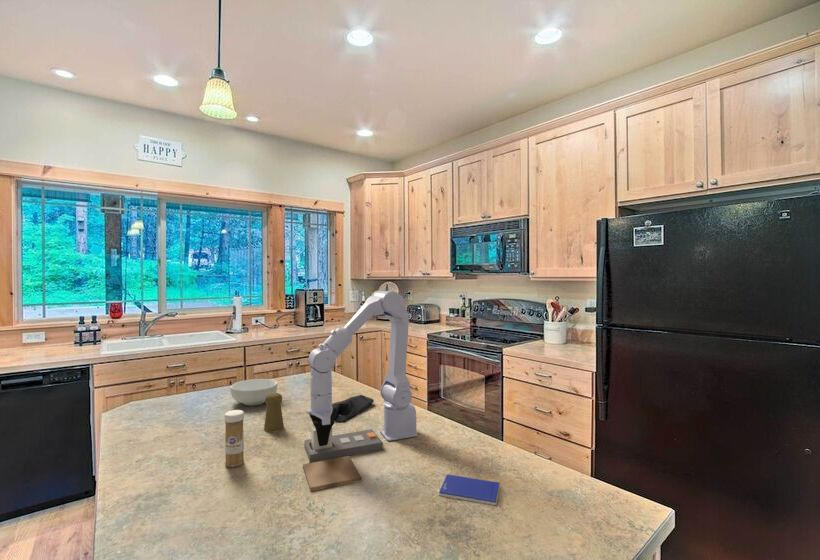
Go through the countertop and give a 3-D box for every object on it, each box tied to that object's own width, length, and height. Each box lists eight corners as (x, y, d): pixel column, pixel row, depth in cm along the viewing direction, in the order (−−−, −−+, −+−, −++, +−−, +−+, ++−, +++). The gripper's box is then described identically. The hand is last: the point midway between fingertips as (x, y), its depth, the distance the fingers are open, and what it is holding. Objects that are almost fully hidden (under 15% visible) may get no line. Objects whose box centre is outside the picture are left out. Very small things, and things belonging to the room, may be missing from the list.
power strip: (372, 435, 121) (372, 427, 121) (382, 449, 112) (382, 440, 112) (304, 447, 113) (304, 438, 113) (309, 462, 104) (309, 452, 104)
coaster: (349, 458, 106) (349, 455, 106) (361, 480, 95) (361, 477, 95) (303, 467, 102) (302, 464, 102) (310, 491, 91) (310, 487, 91)
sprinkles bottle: (225, 469, 101) (224, 416, 101) (225, 461, 105) (224, 410, 105) (244, 465, 103) (244, 413, 102) (244, 458, 107) (243, 408, 107)
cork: (277, 432, 124) (277, 397, 124) (260, 431, 125) (259, 396, 125) (287, 425, 130) (287, 391, 130) (270, 424, 131) (270, 390, 131)
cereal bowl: (268, 409, 145) (268, 390, 144) (222, 409, 145) (222, 390, 145) (283, 395, 162) (283, 378, 161) (242, 395, 162) (242, 378, 162)
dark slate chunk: (380, 406, 149) (380, 394, 149) (339, 425, 131) (339, 411, 131) (349, 399, 157) (349, 387, 157) (307, 416, 139) (307, 402, 139)
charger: (329, 447, 113) (329, 419, 113) (332, 453, 110) (332, 424, 109) (311, 450, 111) (311, 422, 111) (313, 456, 108) (313, 427, 107)
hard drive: (439, 491, 89) (496, 500, 85) (447, 473, 96) (499, 481, 93) (439, 497, 89) (496, 507, 85) (447, 479, 96) (499, 488, 93)
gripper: (302, 387, 115) (303, 434, 116) (310, 402, 102) (311, 455, 102) (327, 384, 118) (327, 430, 118) (338, 399, 105) (338, 450, 105)
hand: (321, 441), depth 110 cm, fingers closed on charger, 4 cm apart
